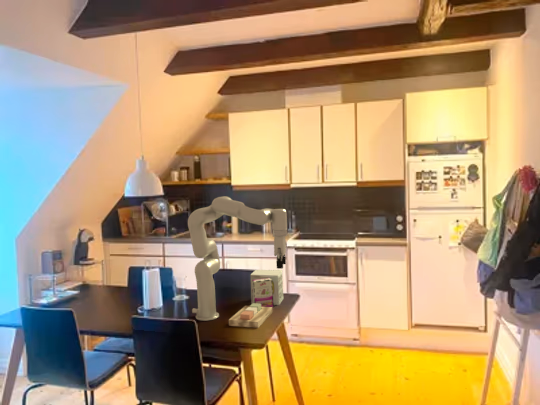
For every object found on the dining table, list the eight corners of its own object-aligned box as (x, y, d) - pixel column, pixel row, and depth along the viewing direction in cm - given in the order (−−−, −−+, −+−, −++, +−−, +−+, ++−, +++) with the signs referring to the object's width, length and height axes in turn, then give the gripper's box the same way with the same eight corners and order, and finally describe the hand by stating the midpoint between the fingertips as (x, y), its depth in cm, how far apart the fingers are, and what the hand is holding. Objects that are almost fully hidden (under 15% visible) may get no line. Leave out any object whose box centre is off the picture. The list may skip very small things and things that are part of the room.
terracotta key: (240, 319, 229) (240, 314, 229) (243, 316, 234) (243, 311, 234) (249, 320, 228) (249, 314, 227) (252, 317, 232) (252, 311, 232)
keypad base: (229, 325, 229) (228, 319, 228) (245, 310, 251) (245, 305, 251) (258, 327, 224) (258, 321, 224) (272, 312, 247) (272, 307, 246)
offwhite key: (245, 315, 236) (245, 309, 236) (248, 312, 241) (248, 307, 240) (254, 316, 234) (253, 310, 234) (257, 313, 239) (257, 307, 239)
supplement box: (250, 304, 263) (249, 274, 262) (256, 298, 276) (255, 269, 275) (279, 305, 259) (278, 275, 258) (283, 298, 272) (282, 269, 270)
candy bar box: (271, 305, 260) (270, 277, 259) (273, 307, 255) (272, 279, 254) (252, 307, 257) (251, 279, 256) (254, 309, 253) (253, 281, 251)
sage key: (249, 311, 242) (249, 305, 242) (252, 308, 247) (252, 303, 247) (258, 311, 241) (258, 306, 241) (261, 309, 246) (261, 303, 245)
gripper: (275, 230, 235) (276, 262, 237) (269, 235, 218) (271, 270, 220) (289, 230, 234) (290, 262, 235) (284, 235, 217) (286, 270, 218)
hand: (281, 266), depth 227 cm, fingers open, 9 cm apart
